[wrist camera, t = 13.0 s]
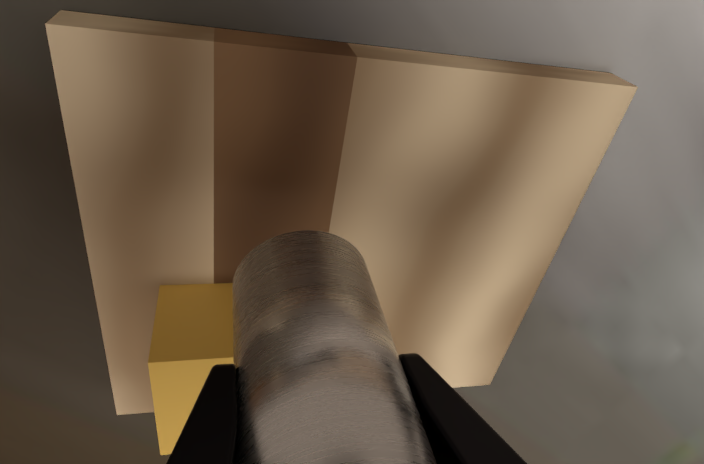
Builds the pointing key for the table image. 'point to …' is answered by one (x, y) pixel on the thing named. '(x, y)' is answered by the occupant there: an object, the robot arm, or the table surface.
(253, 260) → the bronze metal canister
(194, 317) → the mustard yellow box
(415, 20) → the table surface
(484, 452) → the robot arm
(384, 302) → the board
